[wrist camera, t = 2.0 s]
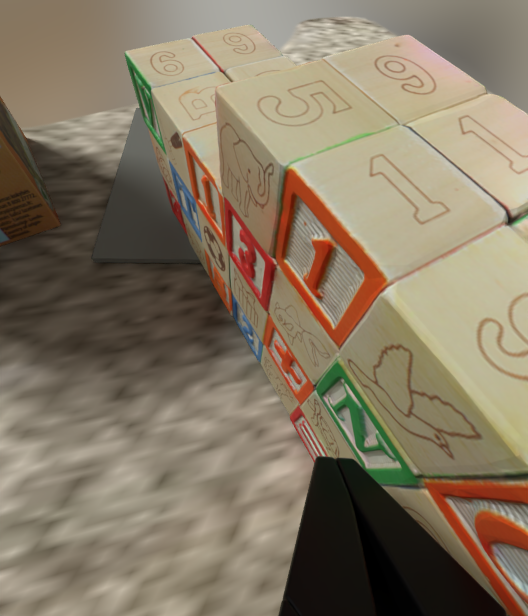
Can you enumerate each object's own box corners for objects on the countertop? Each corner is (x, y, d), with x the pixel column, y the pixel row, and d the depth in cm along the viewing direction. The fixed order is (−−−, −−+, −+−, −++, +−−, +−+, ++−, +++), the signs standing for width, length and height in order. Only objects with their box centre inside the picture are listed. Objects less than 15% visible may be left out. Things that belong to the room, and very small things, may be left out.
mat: (469, 266, 21) (473, 262, 21) (94, 262, 20) (91, 258, 20) (409, 122, 29) (411, 118, 29) (137, 112, 28) (136, 108, 27)
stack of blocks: (168, 211, 22) (90, -61, 11) (250, 182, 23) (255, -78, 12) (365, 554, 13) (881, 882, 3) (470, 471, 15) (1051, 450, 4)
